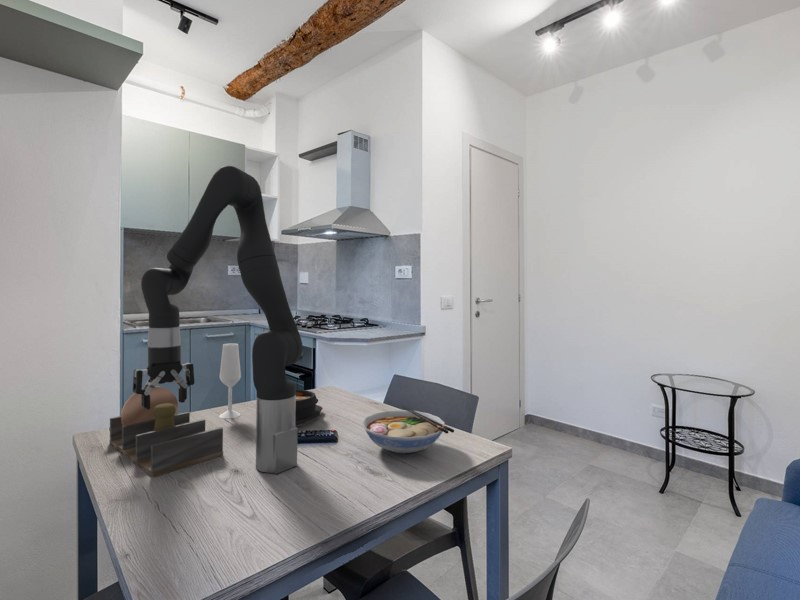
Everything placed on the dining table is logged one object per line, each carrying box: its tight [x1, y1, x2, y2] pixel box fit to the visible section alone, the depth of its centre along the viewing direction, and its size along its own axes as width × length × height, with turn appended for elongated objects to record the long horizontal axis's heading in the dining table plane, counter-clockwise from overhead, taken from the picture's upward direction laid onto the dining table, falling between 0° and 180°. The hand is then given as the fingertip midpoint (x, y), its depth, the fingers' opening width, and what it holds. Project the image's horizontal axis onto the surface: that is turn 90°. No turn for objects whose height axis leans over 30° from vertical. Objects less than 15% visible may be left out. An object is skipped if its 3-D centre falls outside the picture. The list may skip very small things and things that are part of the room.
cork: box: [153, 403, 176, 431], centre depth 108 cm, size 6×6×11 cm
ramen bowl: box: [361, 405, 455, 455], centre depth 112 cm, size 25×23×8 cm
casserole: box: [295, 389, 323, 426], centre depth 134 cm, size 25×19×8 cm
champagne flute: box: [218, 342, 242, 420], centre depth 137 cm, size 7×7×24 cm
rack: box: [109, 385, 224, 478], centre depth 108 cm, size 30×16×15 cm, turn 51°
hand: (165, 405), depth 108 cm, fingers open, 8 cm apart
